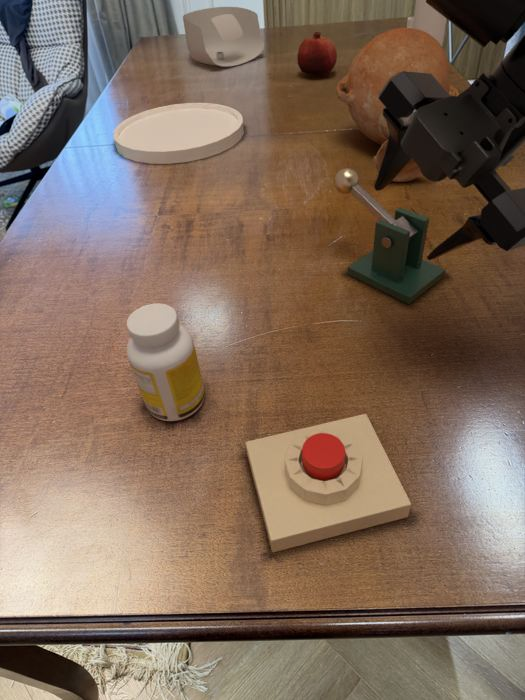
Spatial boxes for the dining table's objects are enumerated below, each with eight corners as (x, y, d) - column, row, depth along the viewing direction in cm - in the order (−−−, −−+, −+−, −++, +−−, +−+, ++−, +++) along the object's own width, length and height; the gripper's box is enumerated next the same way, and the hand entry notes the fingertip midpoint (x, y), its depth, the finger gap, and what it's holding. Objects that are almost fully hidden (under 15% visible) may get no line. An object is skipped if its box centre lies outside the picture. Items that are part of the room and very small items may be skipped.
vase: (437, 103, 114) (454, -4, 100) (405, 105, 114) (418, -1, 100) (425, 87, 122) (440, -14, 108) (395, 89, 122) (406, -11, 108)
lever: (326, 186, 67) (334, 167, 64) (341, 177, 68) (350, 159, 65) (395, 253, 64) (407, 237, 61) (410, 243, 65) (422, 227, 62)
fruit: (291, 74, 137) (289, 32, 130) (322, 67, 139) (323, 25, 133) (309, 84, 130) (309, 39, 123) (343, 76, 132) (345, 32, 125)
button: (297, 450, 44) (296, 438, 43) (336, 440, 45) (336, 428, 44) (309, 484, 42) (309, 473, 41) (350, 474, 42) (351, 462, 41)
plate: (214, 168, 97) (212, 156, 95) (90, 158, 104) (87, 146, 103) (261, 116, 115) (260, 105, 114) (153, 111, 123) (151, 100, 121)
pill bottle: (214, 383, 56) (197, 301, 48) (193, 429, 51) (170, 346, 43) (160, 374, 57) (135, 293, 49) (135, 418, 53) (104, 337, 45)
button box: (247, 455, 49) (243, 429, 46) (364, 427, 50) (367, 401, 47) (272, 553, 42) (269, 530, 39) (408, 517, 43) (414, 492, 40)
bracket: (347, 274, 69) (350, 219, 63) (383, 249, 73) (389, 196, 67) (408, 304, 63) (418, 248, 58) (444, 276, 67) (456, 220, 61)
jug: (465, 56, 98) (505, 134, 79) (395, 134, 110) (415, 217, 91) (389, -11, 90) (412, 57, 71) (323, 82, 102) (328, 160, 83)
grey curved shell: (228, 47, 163) (224, 4, 155) (266, 57, 151) (264, 10, 143) (176, 62, 154) (169, 17, 146) (213, 73, 143) (206, 24, 135)
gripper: (398, -9, 37) (297, 160, 48) (568, 180, 32) (409, 316, 44) (476, 10, 43) (370, 155, 55) (627, 169, 38) (475, 290, 50)
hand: (403, 223), depth 51 cm, fingers open, 9 cm apart
